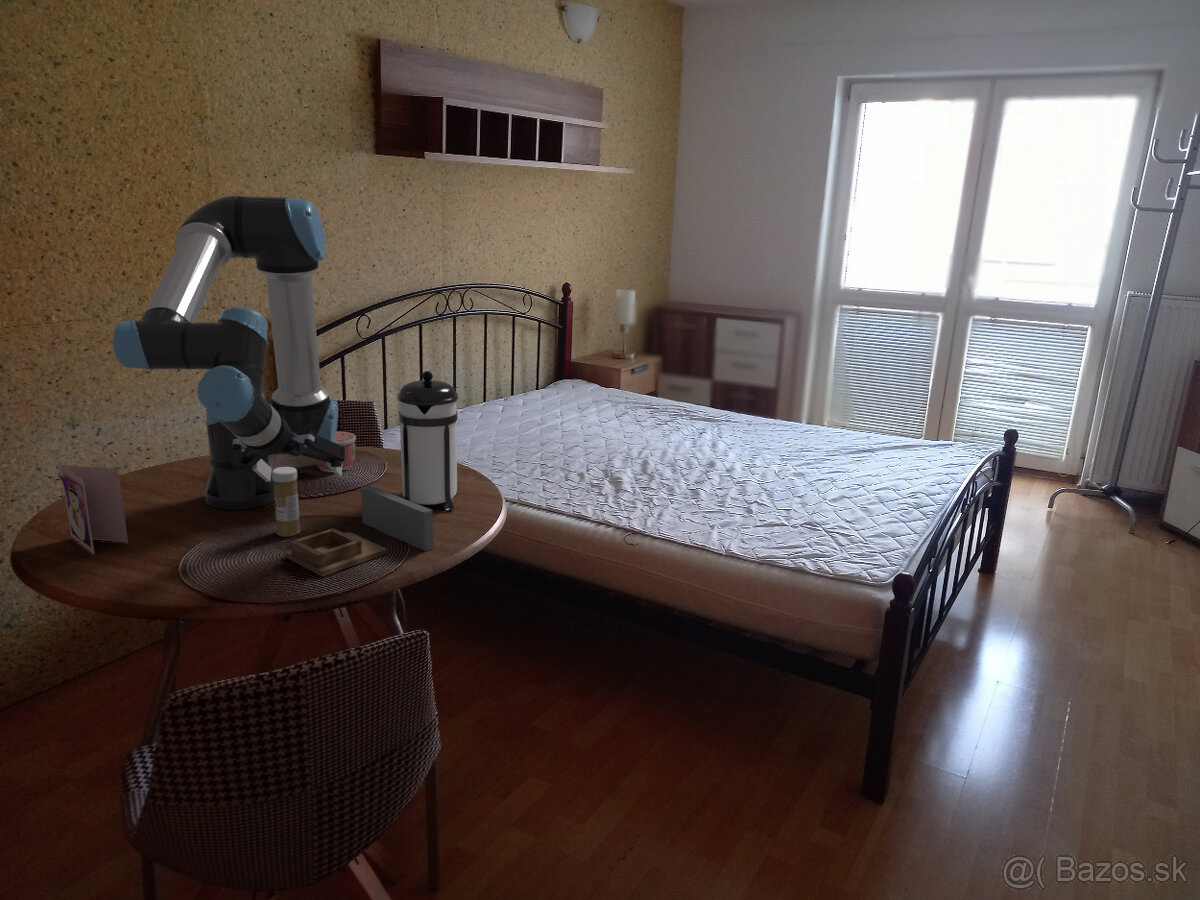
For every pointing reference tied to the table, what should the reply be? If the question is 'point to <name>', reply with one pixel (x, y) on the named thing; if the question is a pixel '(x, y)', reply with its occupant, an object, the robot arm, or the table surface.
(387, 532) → the backstop wall
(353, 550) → the socket block
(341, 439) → the container
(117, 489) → the greeting card
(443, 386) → the coffee press
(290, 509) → the sprinkles bottle
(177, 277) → the robot arm
